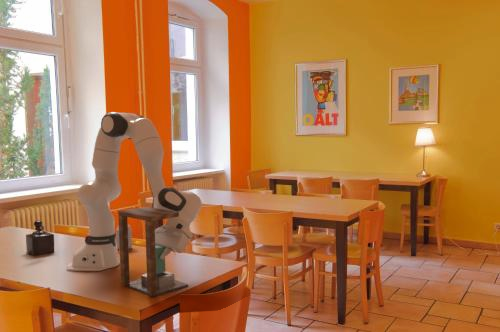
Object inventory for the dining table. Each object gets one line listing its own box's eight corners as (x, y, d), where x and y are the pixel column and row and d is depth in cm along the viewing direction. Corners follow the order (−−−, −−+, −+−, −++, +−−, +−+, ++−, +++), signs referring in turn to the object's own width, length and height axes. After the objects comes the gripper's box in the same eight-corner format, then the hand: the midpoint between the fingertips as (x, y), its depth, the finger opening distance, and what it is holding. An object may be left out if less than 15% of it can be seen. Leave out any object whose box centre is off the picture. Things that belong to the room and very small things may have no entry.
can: (118, 247, 254) (117, 224, 253) (133, 246, 254) (132, 224, 253) (115, 250, 246) (114, 227, 245) (130, 250, 247) (129, 226, 246)
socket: (157, 276, 202) (157, 265, 202) (188, 286, 188) (188, 275, 188) (124, 285, 191) (123, 274, 190) (153, 297, 177) (153, 285, 176)
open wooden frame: (149, 276, 199) (146, 206, 197) (180, 287, 185) (178, 212, 183) (120, 283, 190) (117, 211, 188) (151, 296, 175) (149, 217, 173)
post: (159, 269, 192) (158, 245, 192) (165, 271, 190) (164, 246, 189) (151, 272, 190) (149, 246, 189) (157, 274, 187) (155, 248, 186)
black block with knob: (24, 253, 245) (22, 217, 243) (46, 249, 252) (45, 214, 251) (36, 258, 234) (35, 221, 232) (59, 254, 241) (57, 218, 240)
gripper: (155, 220, 201) (136, 248, 194) (186, 226, 186) (167, 257, 180) (164, 229, 204) (146, 257, 198) (196, 236, 190) (177, 266, 184)
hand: (156, 257), depth 189 cm, fingers closed on post, 4 cm apart
